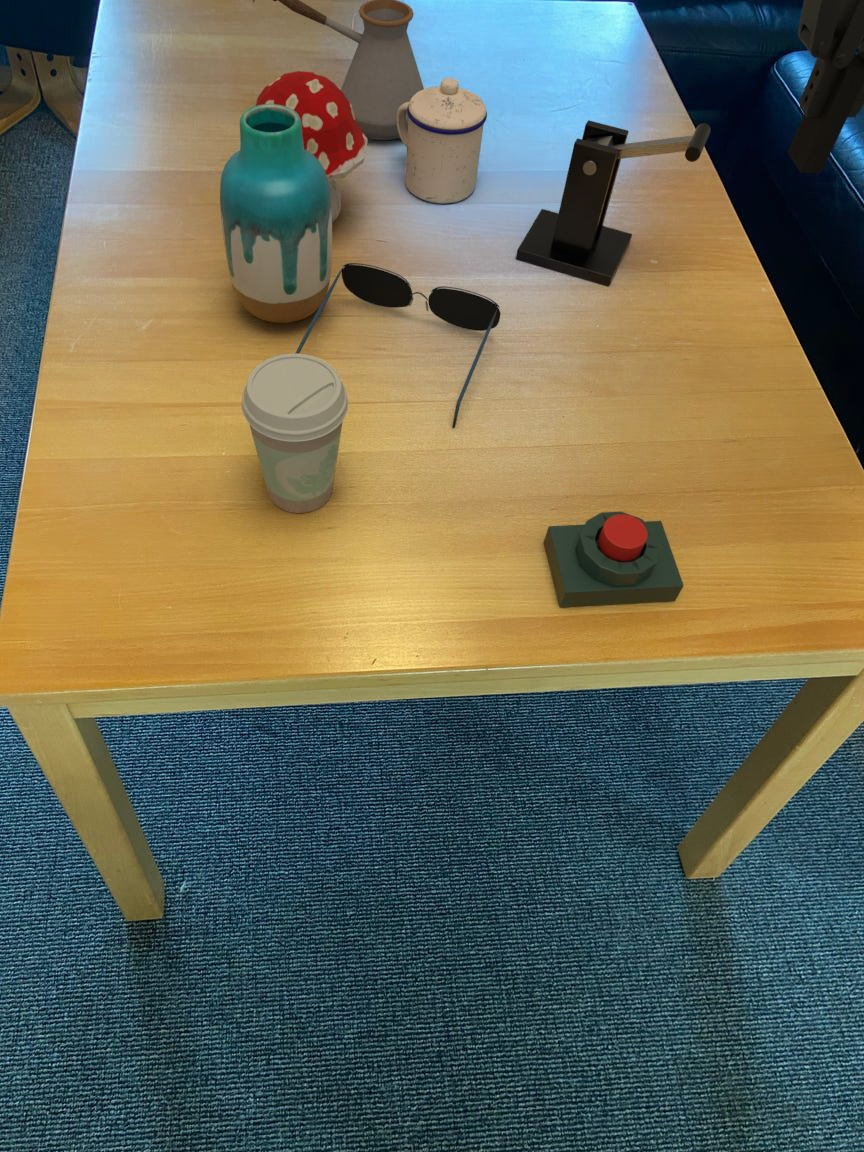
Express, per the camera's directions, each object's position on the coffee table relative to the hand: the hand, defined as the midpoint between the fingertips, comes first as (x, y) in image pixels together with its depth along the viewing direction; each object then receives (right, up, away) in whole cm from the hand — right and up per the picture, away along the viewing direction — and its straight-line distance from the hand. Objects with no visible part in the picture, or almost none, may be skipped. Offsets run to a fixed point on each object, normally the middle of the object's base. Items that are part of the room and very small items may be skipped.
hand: (804, 162), depth 61 cm
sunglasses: (-28, -5, +27) cm, 39 cm away
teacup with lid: (-24, +22, +44) cm, 55 cm away
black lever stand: (-8, +11, +38) cm, 40 cm away
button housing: (-10, -28, +13) cm, 33 cm away
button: (-10, -26, +10) cm, 30 cm away
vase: (-40, +1, +30) cm, 51 cm away
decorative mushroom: (-39, +15, +39) cm, 57 cm away
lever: (-3, +15, +27) cm, 31 cm away
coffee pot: (-35, +33, +51) cm, 70 cm away
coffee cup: (-37, -20, +17) cm, 46 cm away
